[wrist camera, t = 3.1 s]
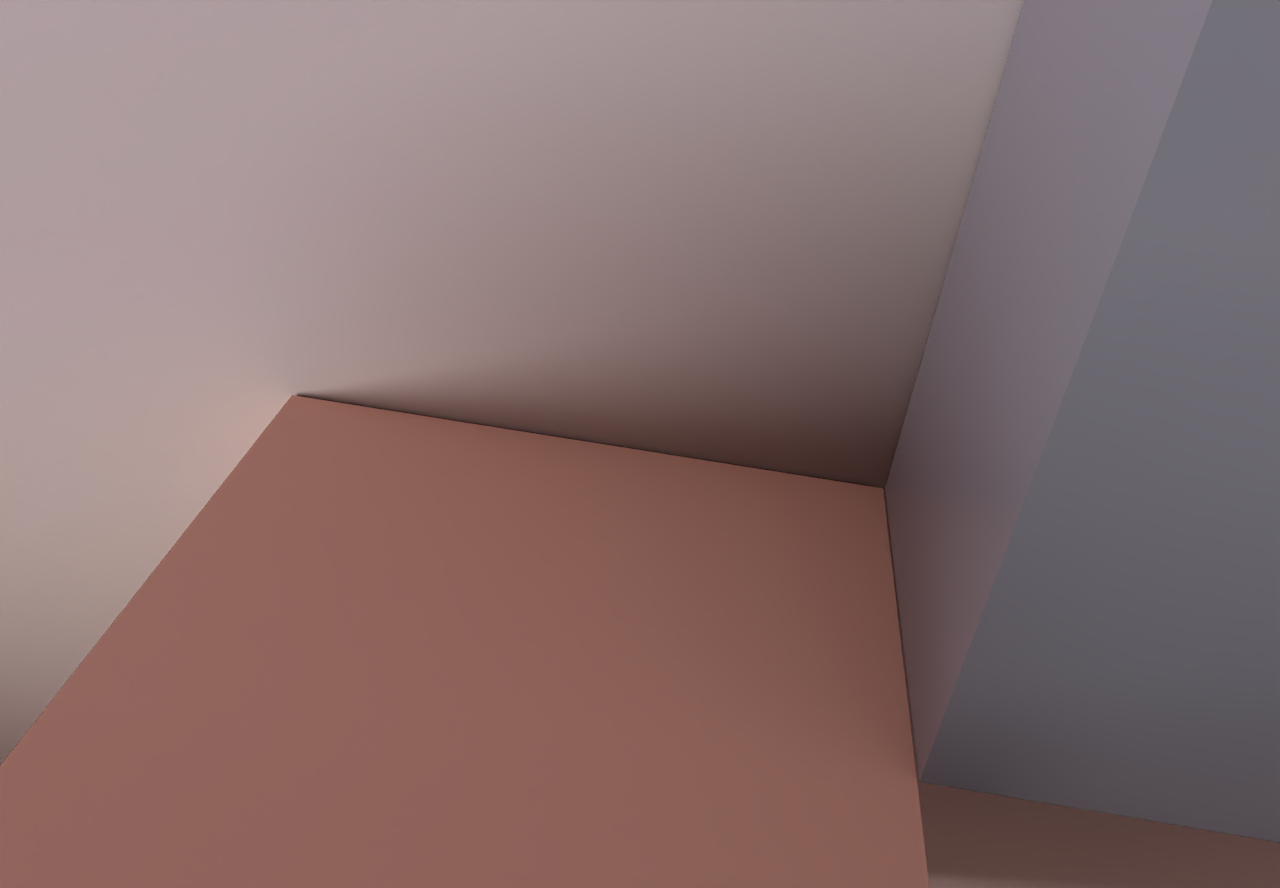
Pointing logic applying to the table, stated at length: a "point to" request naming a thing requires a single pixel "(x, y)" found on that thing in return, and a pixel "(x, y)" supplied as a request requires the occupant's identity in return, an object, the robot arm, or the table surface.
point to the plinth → (1107, 429)
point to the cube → (486, 679)
